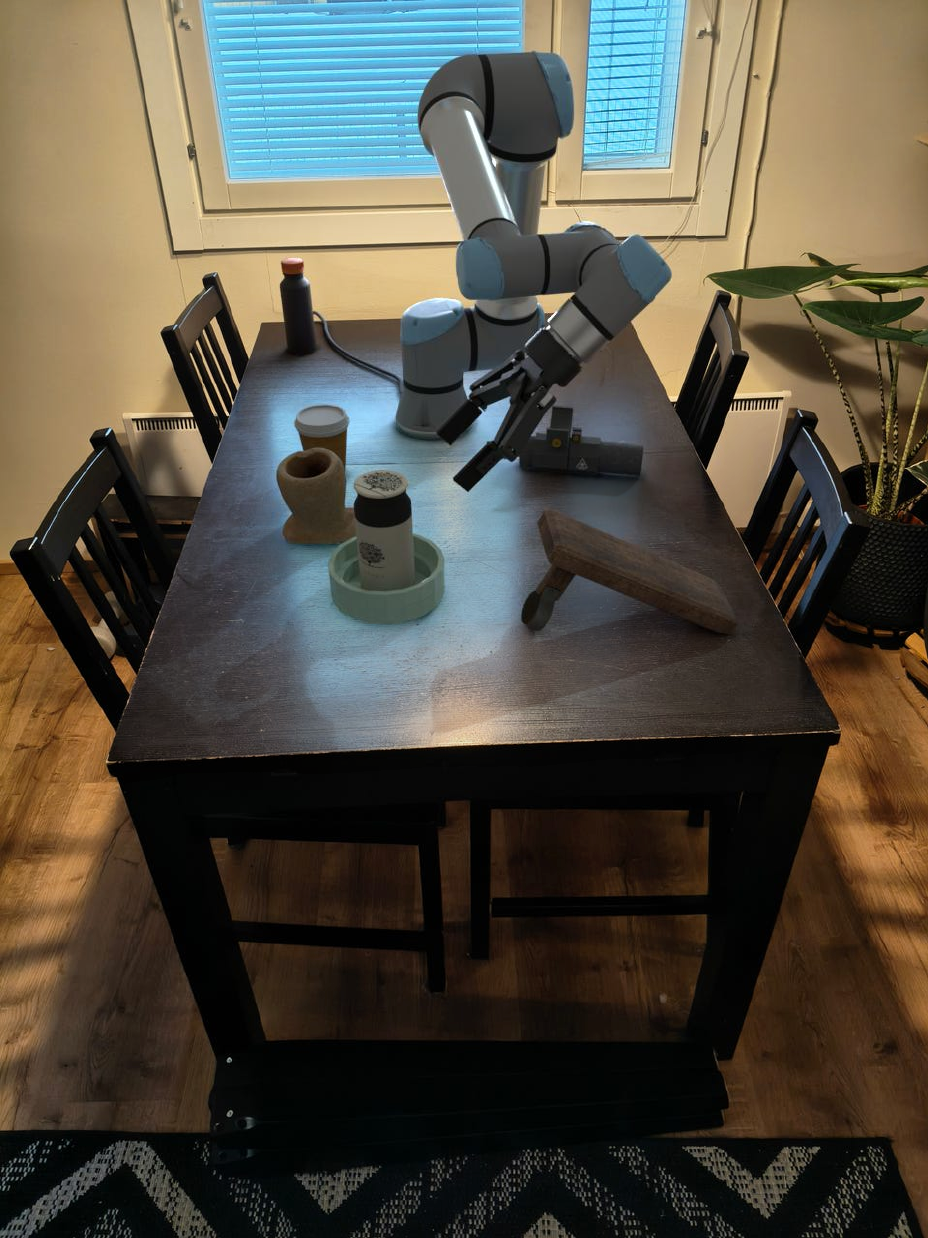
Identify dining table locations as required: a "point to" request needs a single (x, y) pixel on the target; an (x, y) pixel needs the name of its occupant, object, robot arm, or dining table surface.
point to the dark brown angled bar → (621, 575)
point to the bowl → (387, 603)
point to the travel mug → (384, 531)
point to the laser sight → (578, 450)
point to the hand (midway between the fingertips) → (451, 461)
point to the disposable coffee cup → (323, 429)
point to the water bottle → (297, 307)
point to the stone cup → (315, 498)
